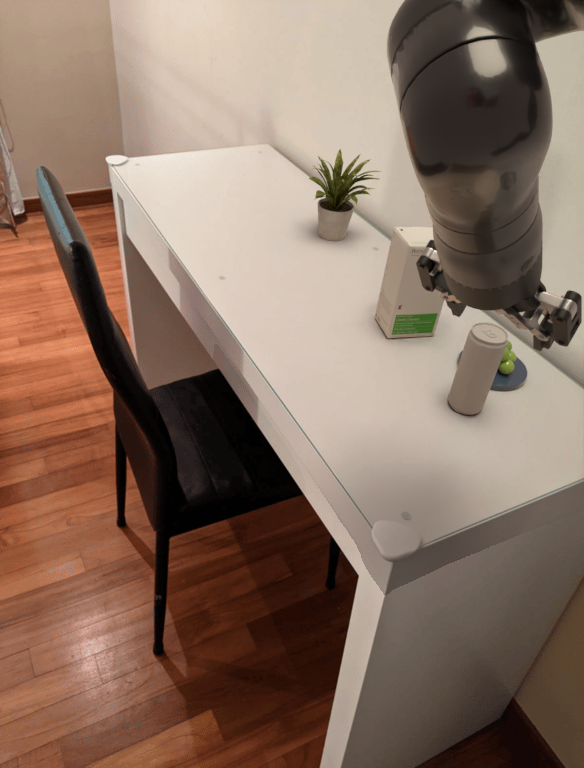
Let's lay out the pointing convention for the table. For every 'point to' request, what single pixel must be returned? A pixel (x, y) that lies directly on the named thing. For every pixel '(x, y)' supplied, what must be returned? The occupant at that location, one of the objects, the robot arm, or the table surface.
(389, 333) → the cosmetic box
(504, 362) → the grapes
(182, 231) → the table surface
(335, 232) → the house plant
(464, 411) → the beverage can
